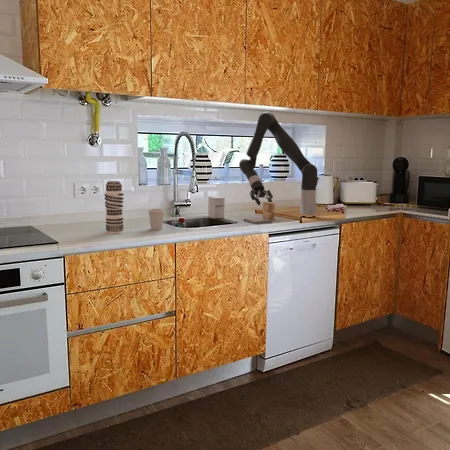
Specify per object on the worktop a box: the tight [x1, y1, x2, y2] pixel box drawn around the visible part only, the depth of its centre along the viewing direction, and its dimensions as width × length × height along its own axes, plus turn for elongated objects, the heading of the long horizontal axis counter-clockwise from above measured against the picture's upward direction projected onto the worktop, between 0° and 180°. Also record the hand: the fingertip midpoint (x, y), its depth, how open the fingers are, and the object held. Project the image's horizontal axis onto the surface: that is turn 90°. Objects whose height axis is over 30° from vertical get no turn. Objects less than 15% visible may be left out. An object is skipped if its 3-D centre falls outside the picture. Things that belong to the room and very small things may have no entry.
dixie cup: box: [148, 208, 166, 231], centre depth 240 cm, size 8×8×10 cm
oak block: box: [262, 201, 276, 221], centre depth 283 cm, size 5×5×10 cm
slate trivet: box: [243, 217, 273, 225], centre depth 272 cm, size 12×12×1 cm
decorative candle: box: [104, 180, 125, 235], centre depth 227 cm, size 9×9×25 cm
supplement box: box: [207, 196, 225, 220], centre depth 284 cm, size 7×7×13 cm
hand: (265, 204), depth 285 cm, fingers open, 8 cm apart
